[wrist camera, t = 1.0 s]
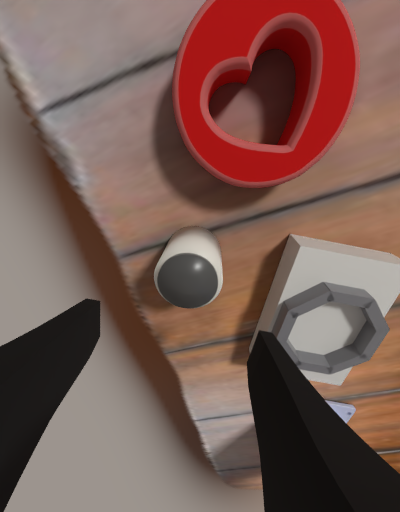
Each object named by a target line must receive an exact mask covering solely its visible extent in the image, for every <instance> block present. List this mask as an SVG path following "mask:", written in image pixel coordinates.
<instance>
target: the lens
mask: <svg viewBox="0 0 400 512" xmlns="http://www.w3.org/2000/svg"><path fill="white" fill-rule="evenodd" d="M154 282H155V286H156V288H157V290H158V292H159V293H160V295H161V296H162V297H163V298H164V299H165V300H167V301H168V302H170V303H171V304H173V305H175V306H178V307H182V308H198V307H202V306H205V305H207V304H209V303H210V302H212V301H213V300H214V299H215V298H216V297H217V295H218V294H219V292H220V290H221V288H222V283H223V275H222V259H221V247H220V244H219V241H218V239H217V238H216V237H215V235H214V234H213V233H212V232H210V231H209V230H207V229H205V228H203V227H199V226H188V227H184V228H181V229H180V230H178V231H177V232H175V233H174V234H173V235H172V237H171V238H170V240H169V242H168V244H167V246H166V248H165V250H164V252H163V254H162V256H161V258H160V260H159V262H158V264H157V266H156V268H155V272H154Z"/></svg>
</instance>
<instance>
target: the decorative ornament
mask: <svg viewBox="0 0 400 512" xmlns="http://www.w3.org/2000/svg"><path fill="white" fill-rule="evenodd" d="M270 49H280V50H282V51H284V52H286V53H287V54H288V55H289V56H290V58H291V59H292V61H293V64H294V67H295V74H296V83H295V94H294V100H293V104H292V108H291V112H290V115H289V118H288V121H287V123H286V126H285V128H284V131H283V133H282V135H281V137H280V139H279V141H278V143H277V145H268V144H259V143H252V142H247V141H243V140H240V139H237V138H235V137H233V136H231V135H229V134H227V133H225V132H224V131H222V130H221V129H220V128H219V127H218V126H217V125H216V123H215V122H214V121H213V119H212V117H211V115H210V113H209V103H210V100H211V97H212V95H213V93H214V92H215V91H216V90H217V89H218V88H219V87H220V86H222V85H224V84H227V83H232V82H239V83H243V84H246V82H247V80H248V78H249V76H250V73H251V71H252V65H253V62H254V61H255V60H256V58H257V57H258V56H259V55H260V54H262V53H263V52H265V51H267V50H270ZM359 71H360V55H359V47H358V41H357V37H356V33H355V30H354V26H353V24H352V21H351V19H350V16H349V14H348V12H347V10H346V8H345V6H344V5H343V3H342V2H341V0H207V1H206V2H205V3H204V4H203V5H202V7H201V8H200V9H199V11H198V12H197V14H196V15H195V17H194V18H193V20H192V21H191V23H190V25H189V26H188V28H187V30H186V32H185V35H184V37H183V39H182V42H181V44H180V47H179V50H178V53H177V57H176V61H175V66H174V72H173V82H172V99H173V109H174V114H175V119H176V123H177V126H178V129H179V132H180V134H181V137H182V140H183V142H184V144H185V145H186V147H187V149H188V150H189V152H190V153H191V155H192V156H193V157H194V159H195V160H196V161H197V162H198V163H199V164H200V165H201V166H202V167H203V168H204V169H206V170H207V171H208V172H209V173H210V174H212V175H213V176H215V177H216V178H218V179H220V180H222V181H224V182H226V183H228V184H231V185H235V186H239V187H245V188H263V187H270V186H275V185H279V184H282V183H285V182H287V181H290V180H292V179H294V178H296V177H298V176H300V175H301V174H303V173H304V172H306V171H307V170H308V169H309V168H310V167H312V166H313V165H314V164H315V163H316V162H318V161H319V160H320V159H321V158H322V157H323V156H324V155H325V153H326V152H327V151H328V150H329V149H330V147H331V146H332V145H333V143H334V142H335V141H336V139H337V138H338V136H339V134H340V133H341V131H342V129H343V127H344V125H345V123H346V121H347V119H348V117H349V114H350V112H351V109H352V106H353V103H354V99H355V96H356V91H357V86H358V80H359Z"/></svg>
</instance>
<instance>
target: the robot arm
mask: <svg viewBox="0 0 400 512" xmlns="http://www.w3.org/2000/svg"><path fill="white" fill-rule="evenodd" d="M99 337H100V301H97V300H92V299H85V300H83V301H82V302H80V303H78V304H76V305H75V306H73V307H71V308H70V309H68V310H66V311H65V312H63V313H61V314H60V315H58V316H56V317H55V318H53V319H51V320H49V321H47V322H46V323H44V324H42V325H41V326H39V327H37V328H35V329H33V330H31V331H29V332H28V333H26V334H24V335H22V336H20V337H18V338H16V339H14V340H12V341H10V342H8V343H6V344H4V345H2V346H0V512H4V510H5V508H6V506H7V504H8V501H9V499H10V497H11V495H12V493H13V491H14V489H15V487H16V485H17V483H18V481H19V479H20V477H21V475H22V473H23V471H24V469H25V467H26V465H27V463H28V461H29V459H30V457H31V455H32V453H33V451H34V449H35V448H36V446H37V444H38V442H39V440H40V438H41V436H42V434H43V433H44V431H45V429H46V427H47V425H48V423H49V421H50V419H51V418H52V416H53V414H54V413H55V411H56V409H57V408H58V406H59V405H60V403H61V402H62V400H63V398H64V397H65V395H66V394H67V392H68V391H69V389H70V388H71V386H72V385H73V383H74V381H75V380H76V378H77V377H78V375H79V374H80V372H81V370H82V369H83V367H84V366H85V364H86V363H87V361H88V359H89V358H90V356H91V354H92V352H93V350H94V348H95V346H96V343H97V341H98V339H99ZM247 372H248V387H249V393H250V399H251V405H252V411H253V416H254V422H255V428H256V433H257V439H258V445H259V452H260V461H261V472H262V483H263V496H264V510H265V512H400V474H399V473H398V472H397V471H396V470H395V469H393V468H392V467H391V466H390V465H389V464H388V463H387V462H386V461H385V460H383V459H382V458H381V457H380V456H379V455H378V454H377V453H376V452H375V451H374V450H373V449H372V448H371V447H370V446H369V445H368V444H367V443H365V442H364V441H363V440H362V439H361V438H360V437H359V436H358V435H357V434H356V433H355V432H354V431H353V430H352V429H351V428H350V427H349V426H348V425H347V424H346V423H347V422H348V421H349V419H350V418H351V417H352V415H353V414H354V412H355V411H356V410H355V407H354V406H353V405H350V404H344V403H339V402H333V401H327V400H324V399H323V398H322V396H321V395H320V394H319V393H318V392H317V390H316V389H315V388H314V387H313V386H312V385H311V383H310V382H309V381H308V380H307V378H306V377H305V376H304V374H303V373H302V372H301V371H300V369H299V368H298V367H297V365H296V364H295V363H294V361H293V360H292V359H291V357H290V356H289V355H288V353H287V352H286V351H285V349H284V348H283V346H282V345H281V344H280V342H279V341H278V340H277V338H276V337H275V335H274V334H273V333H272V332H267V331H261V330H259V331H258V334H257V337H256V340H255V342H254V345H253V348H252V350H251V353H250V356H249V359H248V361H247Z"/></svg>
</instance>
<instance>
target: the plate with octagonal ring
mask: <svg viewBox="0 0 400 512" xmlns="http://www.w3.org/2000/svg"><path fill="white" fill-rule="evenodd" d="M399 293H400V258H398V257H396V256H394V255H393V254H391V253H387V252H382V251H377V250H371V249H366V248H361V247H356V246H350V245H345V244H340V243H335V242H330V241H324V240H319V239H314V238H309V237H304V236H298V235H293V234H290V235H289V238H288V241H287V243H286V246H285V249H284V252H283V254H282V257H281V260H280V263H279V266H278V268H277V271H276V274H275V277H274V280H273V282H272V285H271V288H270V291H269V293H268V296H267V299H266V302H265V305H264V307H263V310H262V313H261V316H260V318H259V321H258V324H257V327H256V330H255V332H254V335H253V338H252V341H251V344H250V346H249V352H250V353H251V350H252V348H253V345H254V342H255V340H256V337H257V334H258V331H259V330H261V331H267V332H272V333H273V334H274V335H275V337H276V338H277V340H278V341H279V342H280V344H281V345H282V346H283V348H284V349H285V351H286V352H287V353H288V355H289V356H290V357H291V359H292V360H293V361H294V363H295V364H296V365H297V367H298V368H299V369H300V371H301V372H302V373H303V374H304V376H305V377H306V378H307V380H312V381H318V382H323V383H329V384H334V385H340V386H341V384H342V383H343V381H344V379H345V378H346V376H347V375H348V373H349V372H350V370H351V368H352V367H353V366H355V365H358V364H361V363H363V362H366V361H369V360H370V358H371V357H372V356H373V354H374V353H375V351H376V350H377V348H378V347H379V345H380V344H381V342H382V341H383V339H384V338H385V336H386V335H387V333H388V332H389V327H388V325H387V323H386V321H385V319H384V317H385V315H386V314H387V312H388V310H389V309H390V307H391V306H392V304H393V303H394V301H395V299H396V298H397V296H398V295H399Z"/></svg>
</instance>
